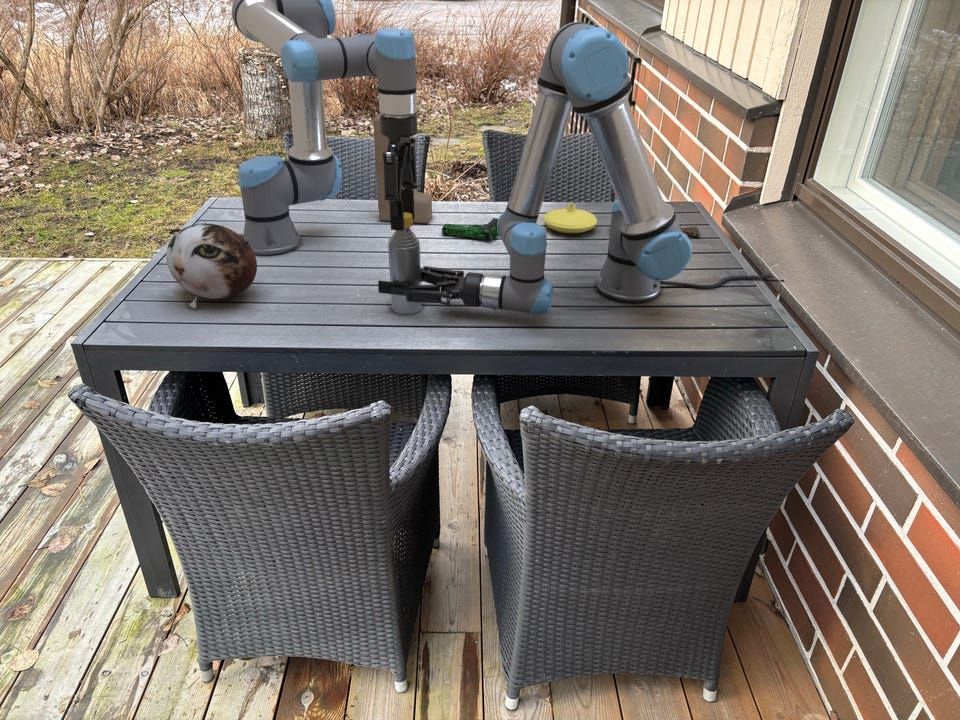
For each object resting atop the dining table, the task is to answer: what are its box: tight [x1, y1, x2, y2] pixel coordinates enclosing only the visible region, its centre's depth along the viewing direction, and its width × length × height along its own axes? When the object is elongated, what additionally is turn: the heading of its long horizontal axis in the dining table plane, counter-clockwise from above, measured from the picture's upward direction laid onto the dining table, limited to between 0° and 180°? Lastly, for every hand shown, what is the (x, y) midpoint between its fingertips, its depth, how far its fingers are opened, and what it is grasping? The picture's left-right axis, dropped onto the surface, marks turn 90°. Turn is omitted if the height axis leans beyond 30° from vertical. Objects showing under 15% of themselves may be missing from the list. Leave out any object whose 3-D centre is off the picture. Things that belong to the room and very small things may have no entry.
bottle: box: [387, 227, 423, 315], centre depth 160 cm, size 7×7×22 cm
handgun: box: [441, 217, 500, 242], centre depth 207 cm, size 16×3×15 cm
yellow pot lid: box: [543, 203, 598, 234], centre depth 209 cm, size 16×16×7 cm
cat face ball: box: [165, 222, 258, 309], centre depth 165 cm, size 22×18×20 cm
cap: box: [403, 212, 414, 228], centre depth 155 cm, size 4×4×2 cm
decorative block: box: [372, 112, 433, 224], centre depth 209 cm, size 8×15×30 cm, turn 82°
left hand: (403, 223), depth 155 cm, fingers open, 6 cm apart
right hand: (384, 279), depth 163 cm, fingers closed on bottle, 7 cm apart
